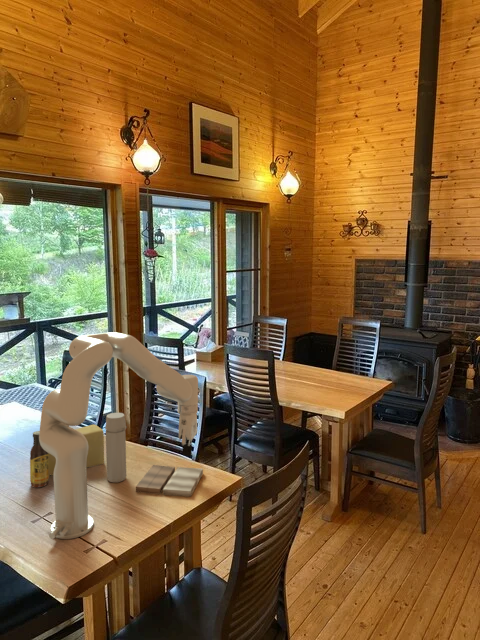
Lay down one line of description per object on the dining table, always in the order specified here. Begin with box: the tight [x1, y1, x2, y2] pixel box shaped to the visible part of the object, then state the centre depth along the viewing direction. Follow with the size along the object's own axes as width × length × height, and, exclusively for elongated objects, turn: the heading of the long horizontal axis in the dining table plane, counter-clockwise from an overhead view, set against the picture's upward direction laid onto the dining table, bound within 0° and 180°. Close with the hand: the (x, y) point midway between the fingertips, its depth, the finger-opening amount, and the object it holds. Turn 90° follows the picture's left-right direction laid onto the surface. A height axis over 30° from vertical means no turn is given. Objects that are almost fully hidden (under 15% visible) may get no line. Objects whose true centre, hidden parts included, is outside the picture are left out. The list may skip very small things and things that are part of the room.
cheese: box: [48, 423, 105, 477], centre depth 188 cm, size 22×10×15 cm, turn 130°
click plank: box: [162, 466, 204, 497], centre depth 177 cm, size 18×10×2 cm, turn 170°
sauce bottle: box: [29, 430, 50, 489], centre depth 174 cm, size 6×6×20 cm
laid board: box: [135, 464, 176, 495], centre depth 179 cm, size 18×9×2 cm, turn 170°
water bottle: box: [104, 412, 127, 483], centre depth 180 cm, size 9×8×25 cm
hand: (187, 454), depth 181 cm, fingers closed
